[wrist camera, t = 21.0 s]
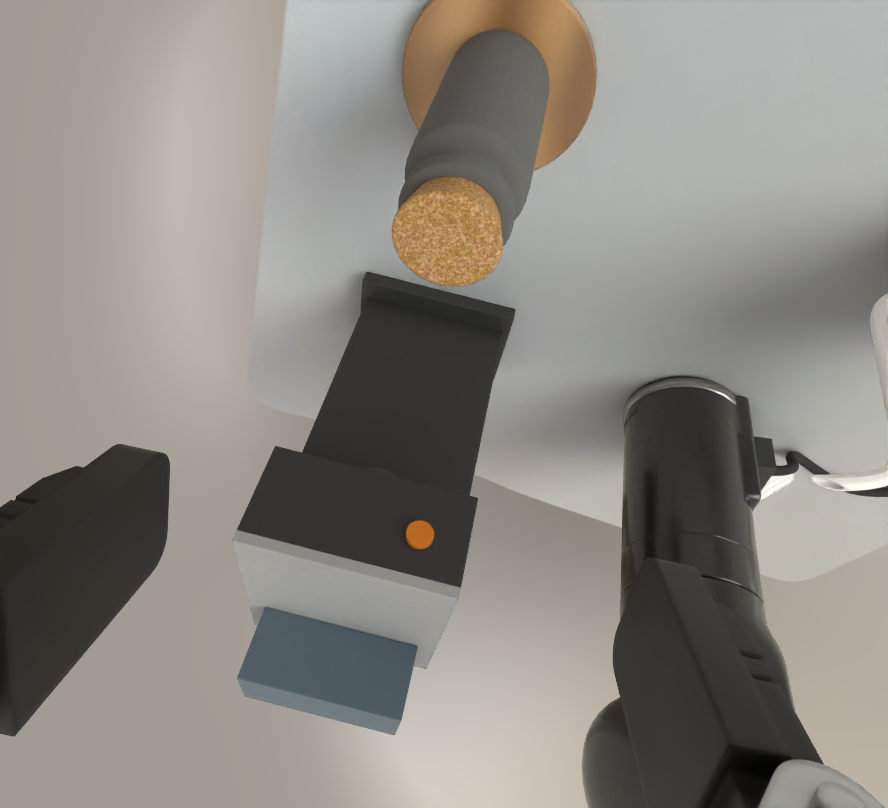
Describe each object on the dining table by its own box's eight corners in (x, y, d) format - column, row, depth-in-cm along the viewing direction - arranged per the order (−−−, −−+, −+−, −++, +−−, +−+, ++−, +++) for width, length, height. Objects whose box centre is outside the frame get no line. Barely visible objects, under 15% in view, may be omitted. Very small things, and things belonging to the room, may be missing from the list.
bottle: (432, 48, 35) (353, 198, 25) (534, 11, 32) (489, 162, 23) (467, 146, 38) (411, 307, 29) (561, 119, 36) (533, 286, 27)
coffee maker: (370, 218, 45) (180, 617, 27) (532, 259, 45) (454, 688, 26) (362, 337, 55) (219, 689, 36) (495, 371, 55) (419, 742, 36)
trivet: (613, -27, 31) (613, -21, 30) (580, 177, 39) (580, 184, 39) (398, -35, 33) (394, -30, 32) (411, 163, 41) (408, 169, 41)
